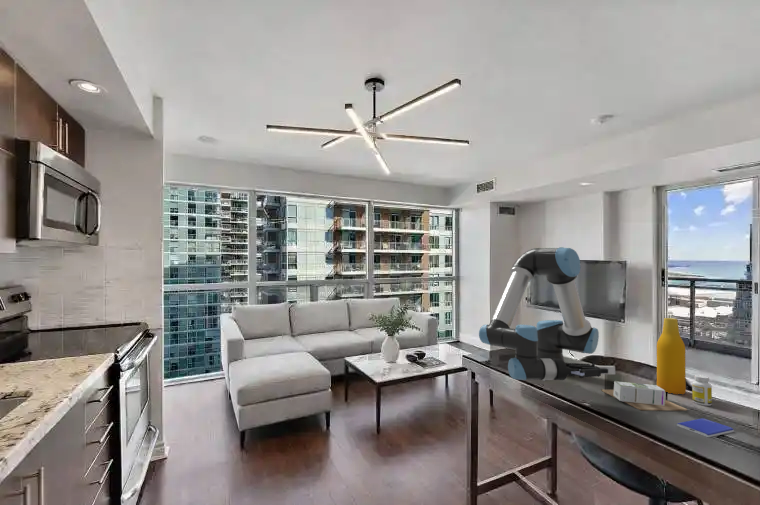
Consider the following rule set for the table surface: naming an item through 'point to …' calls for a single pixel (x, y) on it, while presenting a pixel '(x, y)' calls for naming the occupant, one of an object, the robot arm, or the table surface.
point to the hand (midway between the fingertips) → (613, 370)
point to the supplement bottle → (702, 391)
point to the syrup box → (639, 393)
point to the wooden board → (668, 405)
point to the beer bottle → (671, 359)
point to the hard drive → (705, 427)
